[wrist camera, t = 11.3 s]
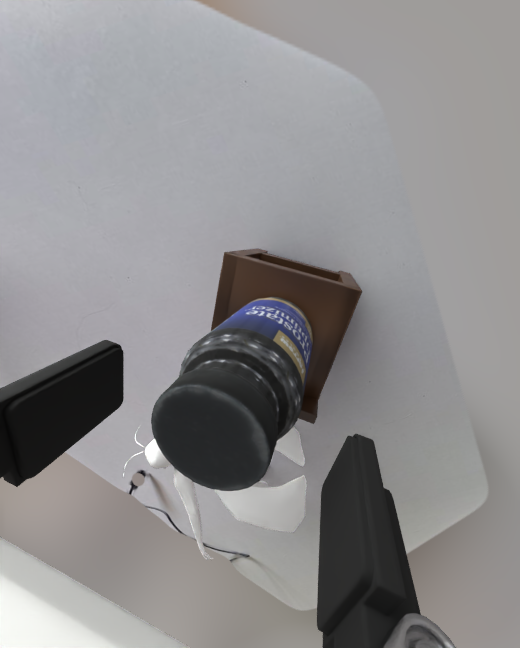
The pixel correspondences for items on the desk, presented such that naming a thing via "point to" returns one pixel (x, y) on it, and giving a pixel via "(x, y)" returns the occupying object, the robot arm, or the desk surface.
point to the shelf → (302, 290)
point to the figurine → (247, 493)
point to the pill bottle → (236, 396)
